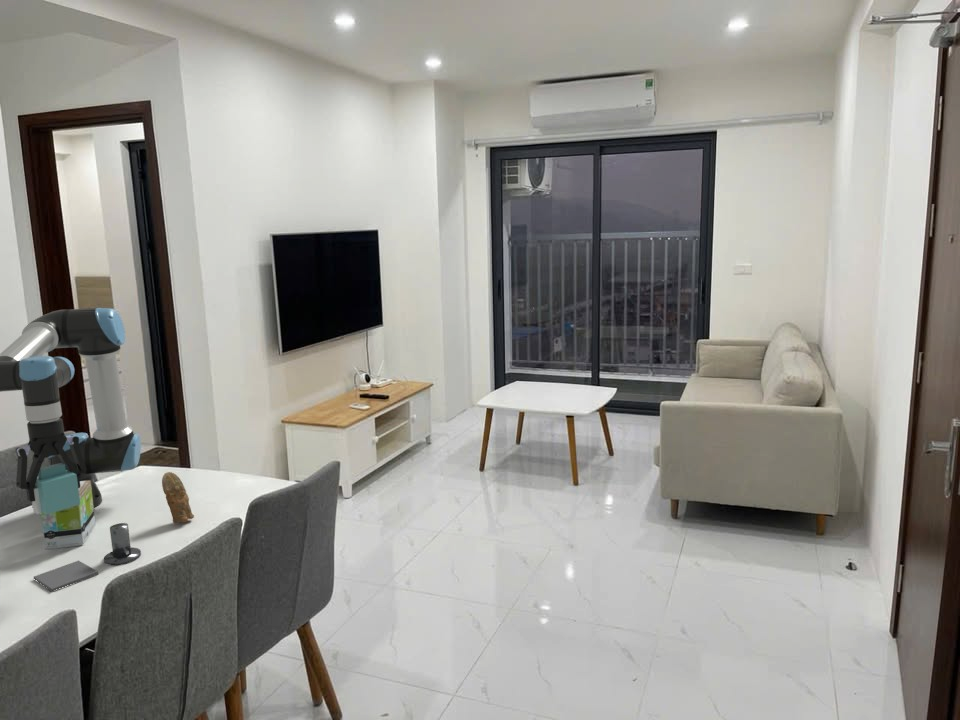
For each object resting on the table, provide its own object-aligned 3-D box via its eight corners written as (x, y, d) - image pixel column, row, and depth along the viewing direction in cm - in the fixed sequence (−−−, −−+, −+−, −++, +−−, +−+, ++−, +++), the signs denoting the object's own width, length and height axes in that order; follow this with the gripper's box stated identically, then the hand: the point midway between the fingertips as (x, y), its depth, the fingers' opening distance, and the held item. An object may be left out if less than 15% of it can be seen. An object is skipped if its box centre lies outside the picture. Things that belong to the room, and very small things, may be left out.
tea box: (84, 545, 200) (78, 496, 197) (44, 550, 197) (37, 500, 194) (96, 525, 214) (90, 478, 211) (59, 529, 211) (53, 482, 209)
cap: (66, 497, 183) (61, 459, 181) (80, 504, 178) (75, 465, 177) (32, 507, 177) (26, 468, 175) (46, 514, 172) (40, 474, 170)
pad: (33, 579, 180) (33, 576, 180) (78, 563, 189) (78, 560, 189) (52, 591, 174) (52, 588, 173) (98, 574, 182) (98, 571, 182)
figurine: (185, 526, 211) (180, 478, 209) (161, 525, 213) (156, 477, 210) (201, 515, 219) (197, 469, 217) (178, 514, 221) (173, 468, 218)
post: (97, 559, 191) (93, 528, 189) (130, 547, 198) (127, 517, 196) (114, 568, 185) (110, 536, 184) (147, 555, 192) (143, 524, 191)
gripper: (81, 408, 184) (92, 491, 188) (-10, 427, 168) (3, 517, 172) (95, 412, 180) (105, 497, 184) (2, 431, 163) (16, 524, 167)
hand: (56, 506), depth 178 cm, fingers closed on cap, 8 cm apart
